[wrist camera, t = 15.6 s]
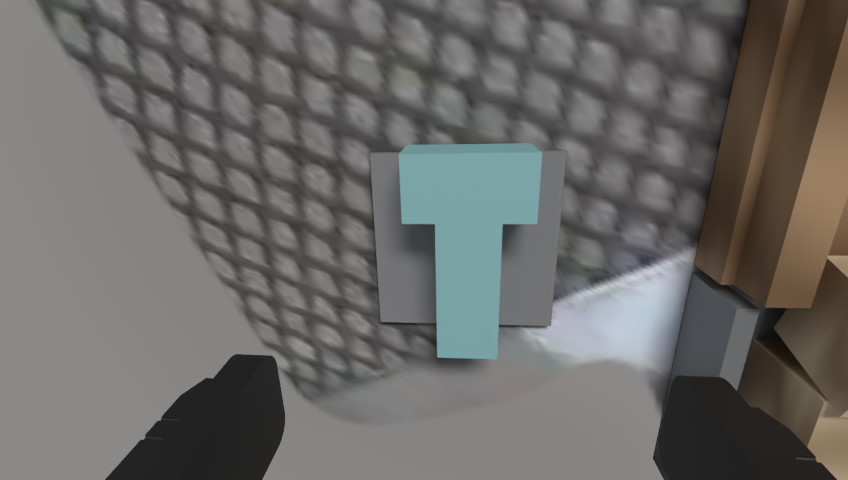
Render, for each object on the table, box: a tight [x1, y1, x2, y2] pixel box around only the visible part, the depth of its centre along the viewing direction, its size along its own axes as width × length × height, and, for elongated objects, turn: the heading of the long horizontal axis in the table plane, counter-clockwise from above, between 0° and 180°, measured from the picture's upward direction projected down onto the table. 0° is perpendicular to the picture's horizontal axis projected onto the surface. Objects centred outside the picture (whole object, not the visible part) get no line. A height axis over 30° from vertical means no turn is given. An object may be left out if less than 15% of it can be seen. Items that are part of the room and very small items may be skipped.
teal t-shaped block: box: [399, 143, 542, 359], centre depth 17 cm, size 2×5×8 cm
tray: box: [653, 273, 787, 480], centre depth 19 cm, size 11×10×3 cm
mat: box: [370, 151, 567, 326], centre depth 19 cm, size 8×8×1 cm
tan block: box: [737, 339, 848, 480], centre depth 18 cm, size 4×4×4 cm
